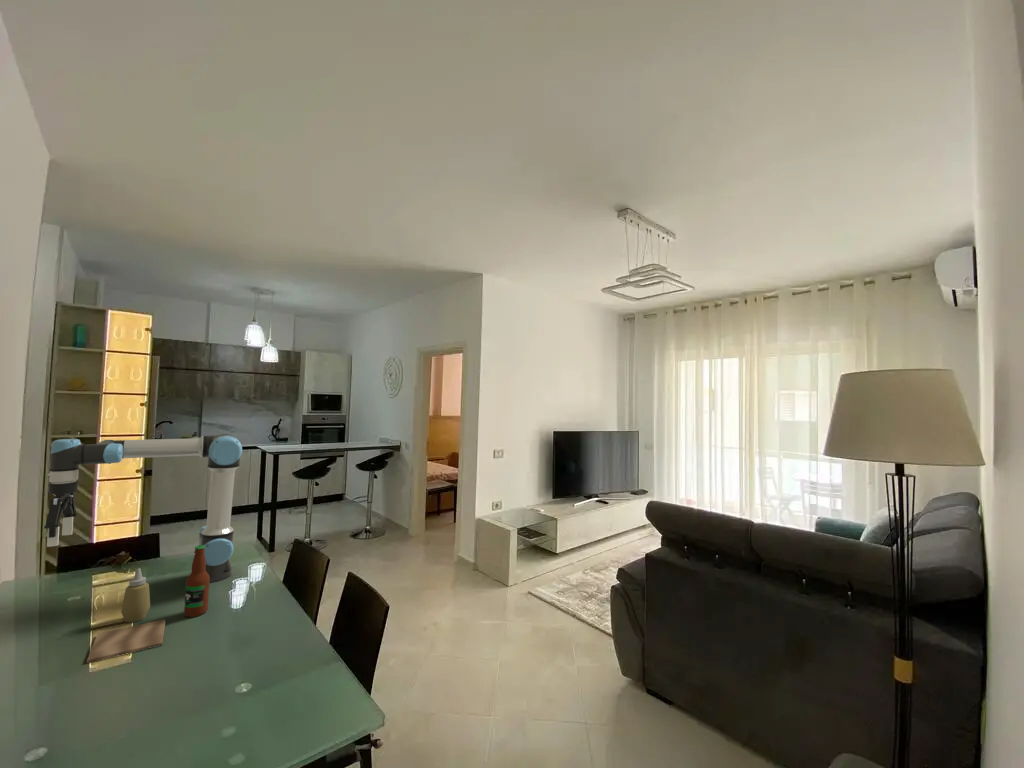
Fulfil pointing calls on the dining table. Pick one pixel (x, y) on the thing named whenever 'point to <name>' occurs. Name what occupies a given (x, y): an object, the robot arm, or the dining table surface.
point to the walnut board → (127, 640)
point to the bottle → (197, 586)
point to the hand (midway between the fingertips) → (60, 540)
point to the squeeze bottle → (136, 599)
